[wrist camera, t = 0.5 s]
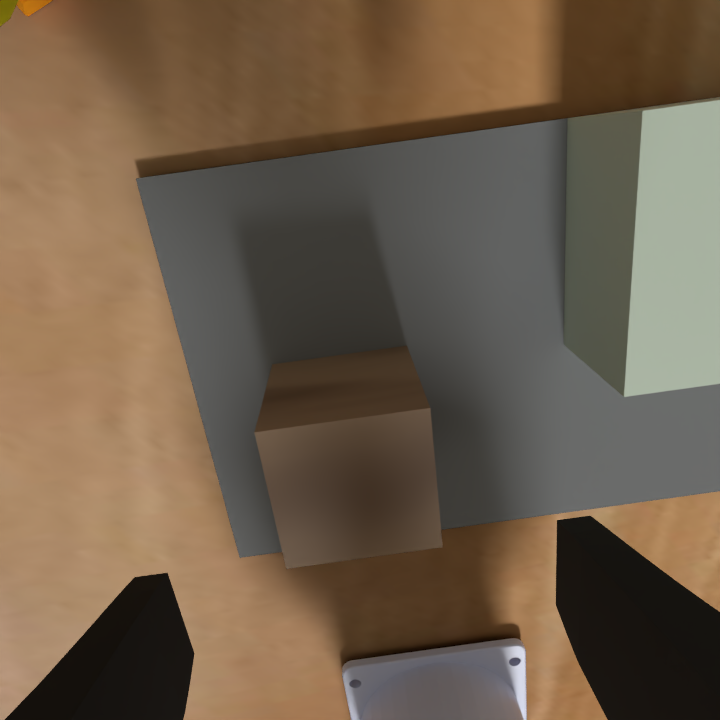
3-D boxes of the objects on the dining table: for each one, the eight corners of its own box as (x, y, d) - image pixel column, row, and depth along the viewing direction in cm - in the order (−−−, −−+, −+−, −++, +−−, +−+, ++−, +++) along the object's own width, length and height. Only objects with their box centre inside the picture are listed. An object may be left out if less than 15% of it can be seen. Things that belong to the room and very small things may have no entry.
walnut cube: (418, 460, 19) (442, 547, 15) (295, 477, 19) (286, 569, 15) (406, 345, 18) (430, 407, 14) (272, 364, 18) (254, 432, 14)
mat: (796, 473, 21) (805, 479, 21) (241, 550, 21) (239, 557, 21) (882, 73, 16) (896, 72, 15) (140, 177, 16) (136, 178, 15)
